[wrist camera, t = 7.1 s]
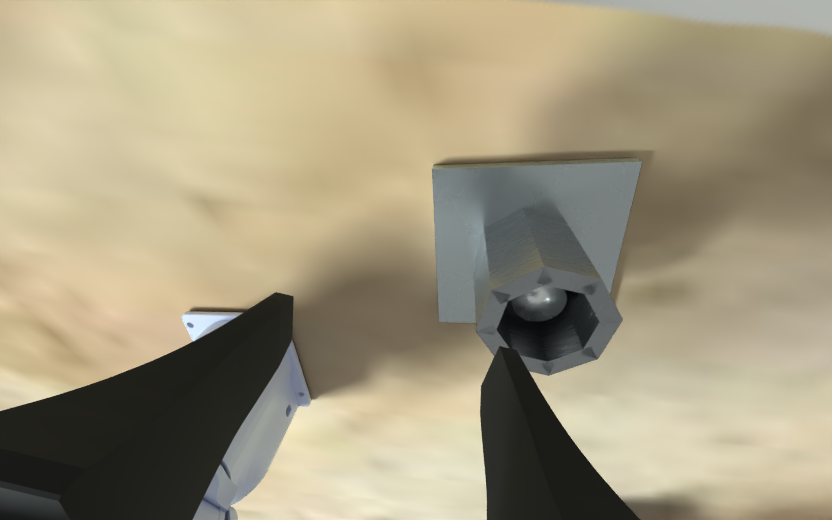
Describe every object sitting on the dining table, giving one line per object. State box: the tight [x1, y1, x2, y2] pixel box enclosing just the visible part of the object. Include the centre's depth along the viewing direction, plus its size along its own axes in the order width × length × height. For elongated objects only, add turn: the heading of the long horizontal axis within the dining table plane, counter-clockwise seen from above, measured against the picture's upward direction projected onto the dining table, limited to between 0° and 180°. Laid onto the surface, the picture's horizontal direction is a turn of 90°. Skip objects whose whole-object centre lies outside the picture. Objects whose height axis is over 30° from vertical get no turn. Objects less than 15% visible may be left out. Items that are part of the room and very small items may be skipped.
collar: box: [473, 208, 623, 376], centre depth 17 cm, size 5×5×6 cm
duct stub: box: [432, 158, 642, 323], centre depth 18 cm, size 10×10×5 cm
